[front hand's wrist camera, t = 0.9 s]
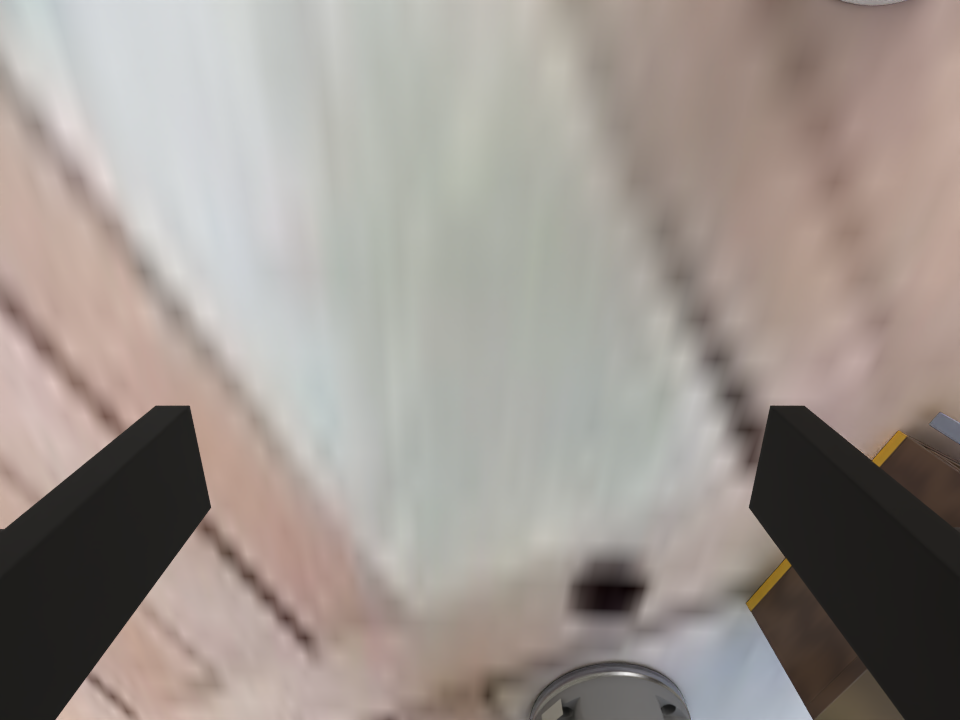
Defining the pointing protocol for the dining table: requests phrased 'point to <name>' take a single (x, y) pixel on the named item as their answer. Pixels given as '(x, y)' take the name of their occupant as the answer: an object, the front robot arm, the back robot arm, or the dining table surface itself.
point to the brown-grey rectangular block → (809, 630)
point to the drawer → (947, 433)
